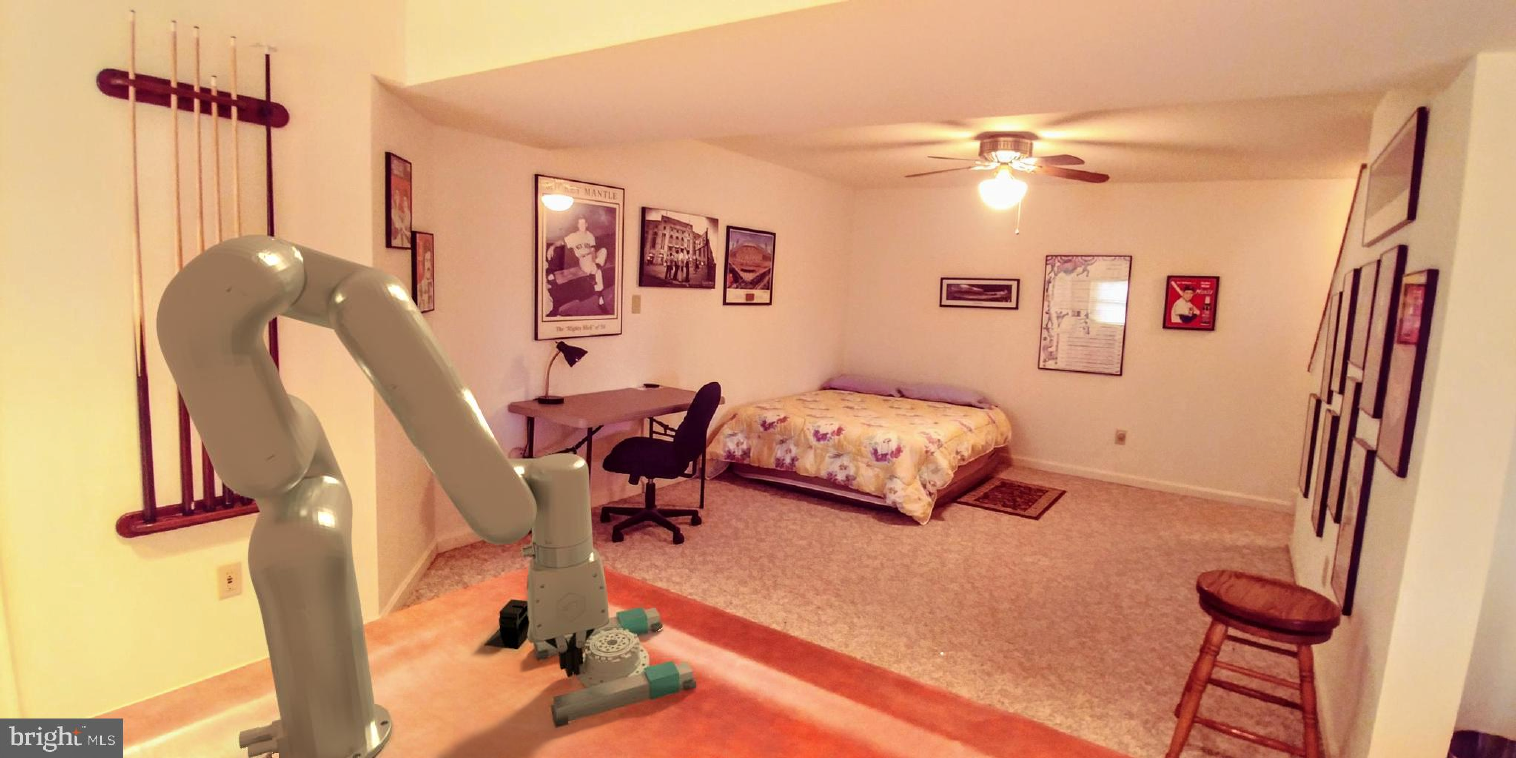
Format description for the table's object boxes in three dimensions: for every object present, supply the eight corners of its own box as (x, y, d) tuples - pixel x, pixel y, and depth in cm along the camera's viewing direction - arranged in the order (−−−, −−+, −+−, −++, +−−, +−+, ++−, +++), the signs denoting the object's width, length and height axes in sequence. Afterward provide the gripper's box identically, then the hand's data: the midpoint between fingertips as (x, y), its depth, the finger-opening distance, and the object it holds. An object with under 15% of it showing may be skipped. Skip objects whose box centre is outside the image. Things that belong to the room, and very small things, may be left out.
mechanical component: (565, 689, 99) (636, 697, 97) (563, 660, 98) (634, 668, 96) (593, 645, 108) (658, 652, 107) (591, 619, 107) (657, 625, 106)
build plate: (517, 660, 106) (515, 631, 105) (471, 654, 107) (468, 626, 106) (555, 613, 118) (553, 587, 116) (513, 608, 119) (511, 583, 118)
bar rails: (555, 727, 91) (553, 707, 91) (533, 648, 107) (532, 631, 107) (696, 687, 99) (695, 668, 98) (656, 619, 115) (656, 602, 114)
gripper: (507, 572, 90) (518, 702, 94) (627, 549, 96) (632, 672, 100) (500, 546, 96) (511, 669, 101) (612, 526, 103) (618, 642, 107)
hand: (571, 670), depth 101 cm, fingers closed
